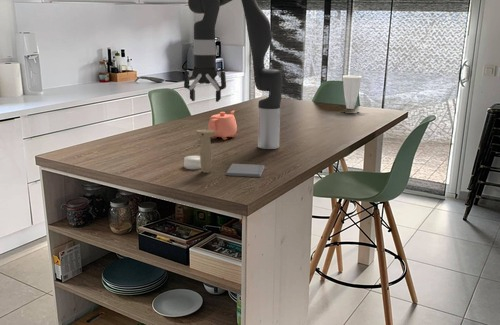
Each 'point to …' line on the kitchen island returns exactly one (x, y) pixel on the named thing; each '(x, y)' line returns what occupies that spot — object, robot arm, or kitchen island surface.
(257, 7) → the robot arm
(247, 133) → the kitchen island surface
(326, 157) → the kitchen island surface
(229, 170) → the coaster
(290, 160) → the kitchen island surface
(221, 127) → the teapot
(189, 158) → the white dome knob
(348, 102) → the cup
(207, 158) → the handle
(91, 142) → the kitchen island surface
